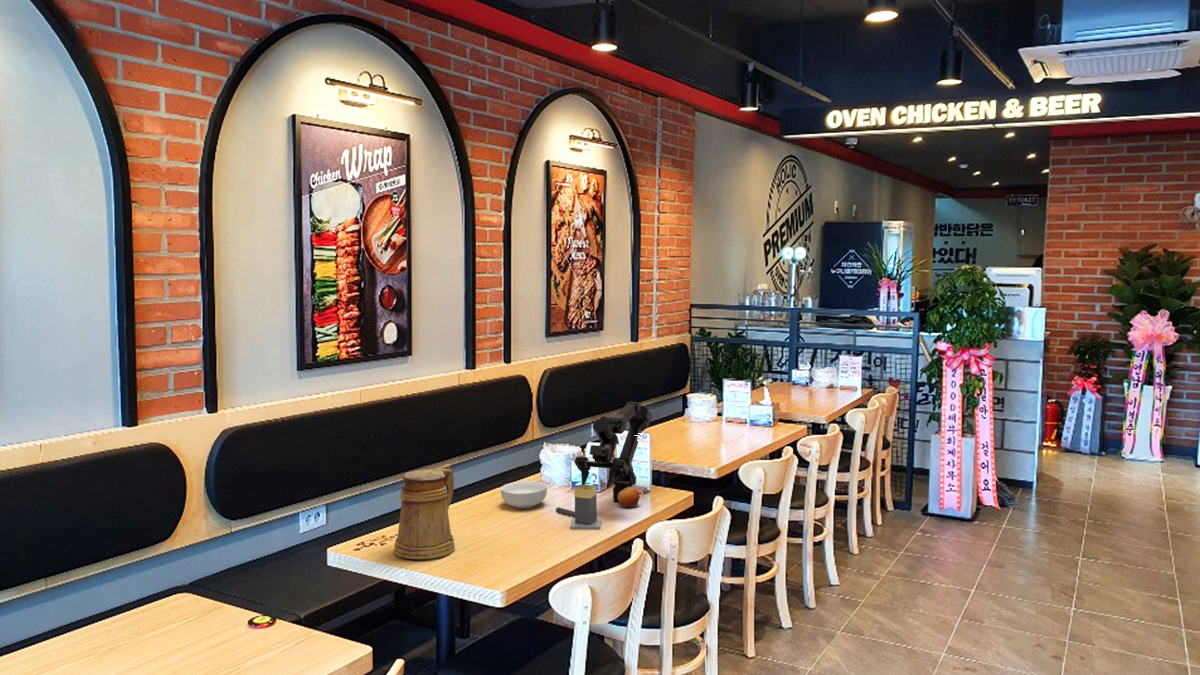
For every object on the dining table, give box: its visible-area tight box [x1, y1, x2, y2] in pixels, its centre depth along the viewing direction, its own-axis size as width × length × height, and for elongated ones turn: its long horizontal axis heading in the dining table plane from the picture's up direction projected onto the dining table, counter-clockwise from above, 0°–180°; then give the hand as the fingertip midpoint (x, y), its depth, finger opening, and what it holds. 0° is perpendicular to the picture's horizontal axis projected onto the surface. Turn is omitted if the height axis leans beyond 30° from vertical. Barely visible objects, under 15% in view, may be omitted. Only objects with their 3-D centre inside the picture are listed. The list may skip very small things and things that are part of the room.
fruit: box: [617, 486, 640, 509], centre depth 321 cm, size 8×8×8 cm
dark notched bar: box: [555, 506, 575, 518], centre depth 311 cm, size 14×2×2 cm, turn 44°
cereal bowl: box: [500, 480, 548, 509], centre depth 324 cm, size 17×17×7 cm
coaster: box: [569, 517, 602, 530], centre depth 299 cm, size 10×10×1 cm
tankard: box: [393, 463, 456, 560], centre depth 276 cm, size 18×24×25 cm
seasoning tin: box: [574, 483, 598, 525], centre depth 299 cm, size 6×6×12 cm
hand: (594, 486), depth 306 cm, fingers open, 9 cm apart
